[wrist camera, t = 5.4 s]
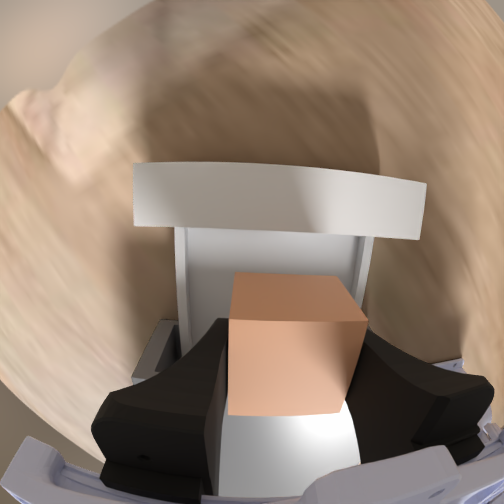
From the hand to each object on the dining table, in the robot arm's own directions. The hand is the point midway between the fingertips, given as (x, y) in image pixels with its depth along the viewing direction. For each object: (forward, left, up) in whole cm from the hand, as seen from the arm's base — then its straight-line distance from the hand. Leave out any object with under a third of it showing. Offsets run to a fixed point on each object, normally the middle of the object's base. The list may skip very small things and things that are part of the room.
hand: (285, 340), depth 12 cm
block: (0, 0, -2) cm, 2 cm away
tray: (0, 0, -7) cm, 7 cm away
